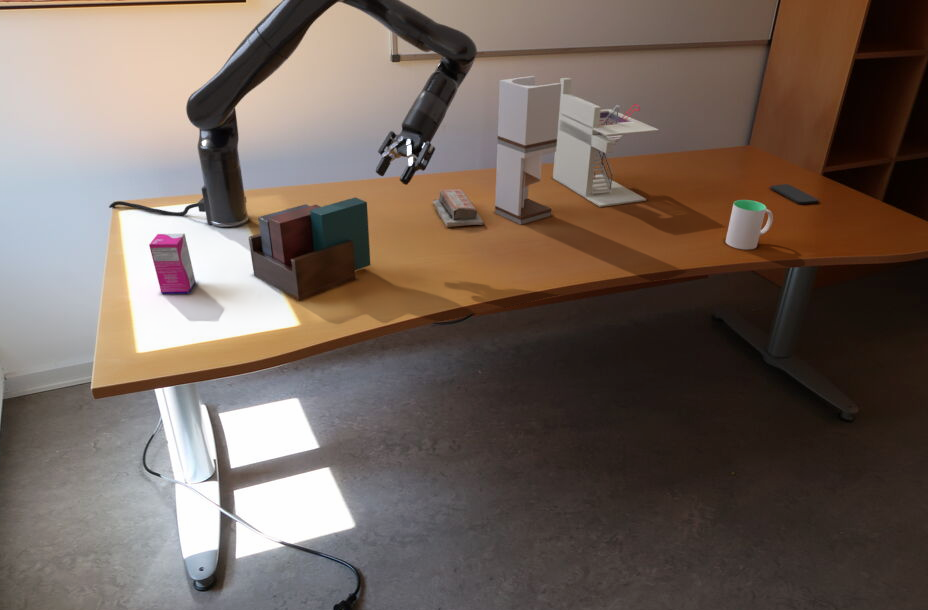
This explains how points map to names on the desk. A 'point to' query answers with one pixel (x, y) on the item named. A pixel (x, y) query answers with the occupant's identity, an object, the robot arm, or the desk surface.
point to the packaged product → (456, 208)
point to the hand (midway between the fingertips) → (390, 178)
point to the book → (343, 228)
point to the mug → (747, 224)
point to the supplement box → (172, 263)
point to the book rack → (298, 255)
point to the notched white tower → (524, 144)
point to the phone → (794, 194)
